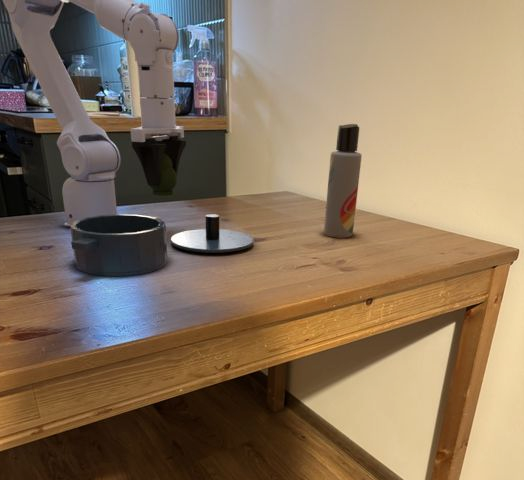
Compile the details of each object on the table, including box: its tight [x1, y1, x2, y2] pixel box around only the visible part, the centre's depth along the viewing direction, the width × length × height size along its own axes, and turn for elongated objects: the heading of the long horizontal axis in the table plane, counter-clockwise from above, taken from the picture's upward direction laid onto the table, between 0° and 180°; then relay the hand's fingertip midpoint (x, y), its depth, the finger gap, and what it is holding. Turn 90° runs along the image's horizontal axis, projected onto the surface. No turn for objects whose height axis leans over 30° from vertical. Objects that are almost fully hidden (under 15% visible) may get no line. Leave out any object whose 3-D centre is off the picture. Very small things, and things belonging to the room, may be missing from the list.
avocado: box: [148, 154, 178, 197], centre depth 88 cm, size 5×5×7 cm
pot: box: [69, 213, 168, 277], centre depth 76 cm, size 14×19×6 cm
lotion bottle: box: [323, 123, 363, 239], centre depth 94 cm, size 6×6×20 cm
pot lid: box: [170, 213, 255, 254], centre depth 88 cm, size 15×15×5 cm
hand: (161, 183), depth 89 cm, fingers closed on avocado, 5 cm apart
